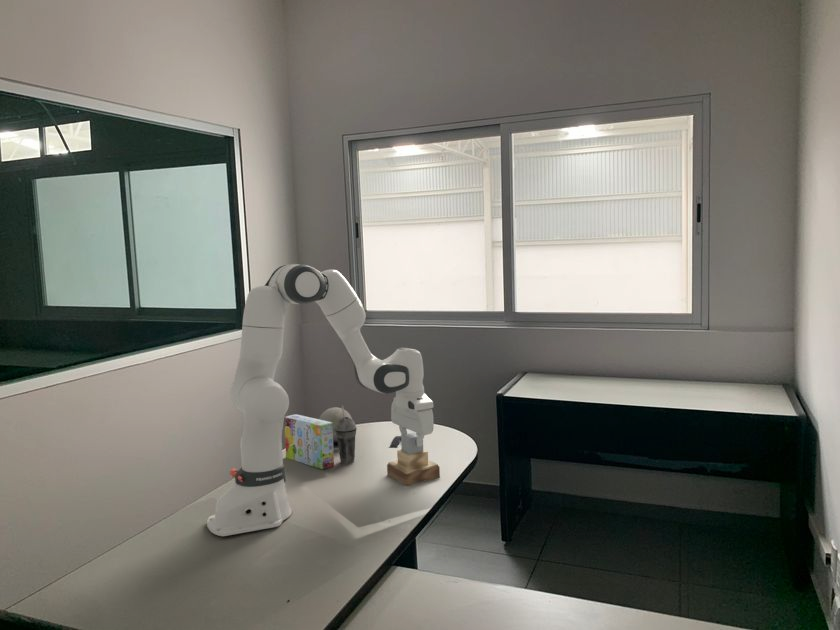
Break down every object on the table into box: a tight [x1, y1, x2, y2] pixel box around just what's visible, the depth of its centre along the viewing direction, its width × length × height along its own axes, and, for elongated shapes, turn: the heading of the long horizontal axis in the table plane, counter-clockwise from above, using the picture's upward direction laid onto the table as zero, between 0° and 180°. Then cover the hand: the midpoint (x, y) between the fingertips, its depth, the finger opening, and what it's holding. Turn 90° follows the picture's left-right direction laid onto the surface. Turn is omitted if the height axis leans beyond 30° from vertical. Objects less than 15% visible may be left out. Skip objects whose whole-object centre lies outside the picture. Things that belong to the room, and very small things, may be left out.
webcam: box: [318, 406, 354, 453], centre depth 229 cm, size 13×13×15 cm
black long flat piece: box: [388, 435, 401, 449], centre depth 230 cm, size 9×25×3 cm, turn 168°
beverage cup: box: [335, 404, 358, 466], centre depth 211 cm, size 7×7×20 cm
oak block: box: [396, 449, 429, 469], centre depth 196 cm, size 7×7×4 cm
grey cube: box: [400, 431, 424, 454], centre depth 195 cm, size 5×5×5 cm
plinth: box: [386, 459, 441, 486], centre depth 196 cm, size 12×12×4 cm
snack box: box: [283, 413, 335, 470], centre depth 214 cm, size 21×6×15 cm, turn 47°
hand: (412, 442), depth 195 cm, fingers open, 7 cm apart
